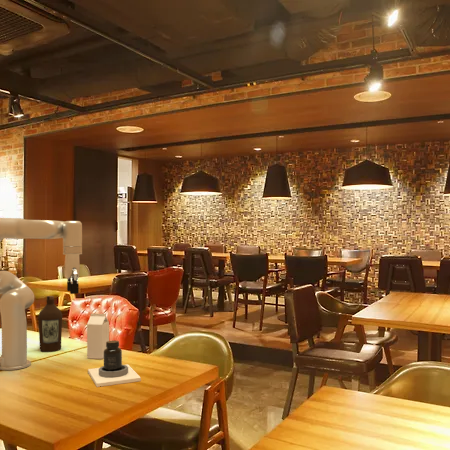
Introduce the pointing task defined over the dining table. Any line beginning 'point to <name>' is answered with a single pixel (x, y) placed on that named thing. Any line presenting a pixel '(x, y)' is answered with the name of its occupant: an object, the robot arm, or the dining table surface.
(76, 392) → the dining table surface
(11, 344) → the robot arm
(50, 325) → the olive oil
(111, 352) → the supplement bottle
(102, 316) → the milk carton
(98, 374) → the dock
